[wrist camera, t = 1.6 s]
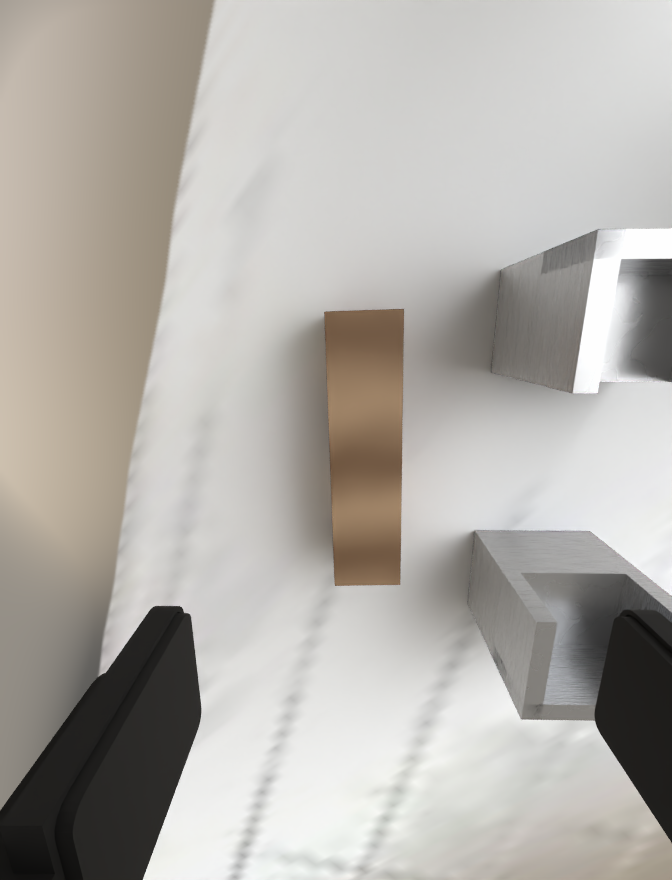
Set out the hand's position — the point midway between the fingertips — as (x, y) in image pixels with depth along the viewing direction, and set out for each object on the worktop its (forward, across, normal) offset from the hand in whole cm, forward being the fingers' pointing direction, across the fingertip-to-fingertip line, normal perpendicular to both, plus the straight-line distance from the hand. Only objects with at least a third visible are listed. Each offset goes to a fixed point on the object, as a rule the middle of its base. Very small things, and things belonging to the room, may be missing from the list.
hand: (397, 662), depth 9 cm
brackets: (+18, -12, +1) cm, 22 cm away
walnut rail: (+18, 0, 0) cm, 18 cm away
